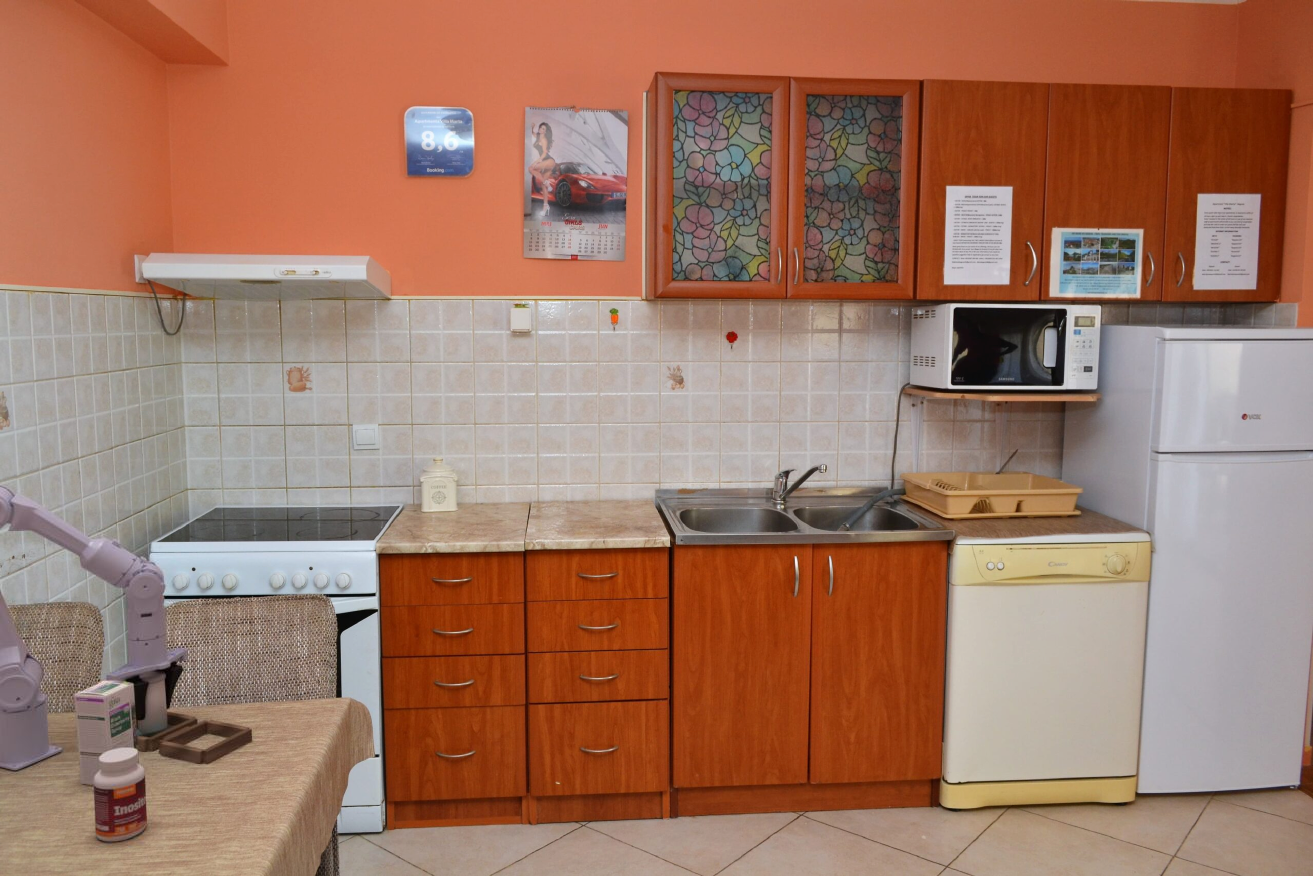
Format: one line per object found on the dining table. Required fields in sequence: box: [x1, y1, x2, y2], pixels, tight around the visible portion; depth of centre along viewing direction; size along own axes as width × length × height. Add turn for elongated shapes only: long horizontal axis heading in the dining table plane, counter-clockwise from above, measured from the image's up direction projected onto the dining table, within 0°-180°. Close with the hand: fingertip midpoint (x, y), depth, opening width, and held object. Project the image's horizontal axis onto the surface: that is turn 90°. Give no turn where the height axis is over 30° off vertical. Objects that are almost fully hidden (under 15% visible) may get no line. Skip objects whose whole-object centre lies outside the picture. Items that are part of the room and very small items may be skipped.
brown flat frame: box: [136, 710, 253, 765], centre depth 160 cm, size 22×10×2 cm, turn 69°
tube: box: [138, 671, 168, 733], centre depth 161 cm, size 5×5×9 cm
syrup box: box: [73, 680, 140, 787], centre depth 146 cm, size 6×6×14 cm
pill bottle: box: [93, 748, 148, 843], centre depth 130 cm, size 6×6×11 cm
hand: (151, 713), depth 162 cm, fingers closed on tube, 4 cm apart
